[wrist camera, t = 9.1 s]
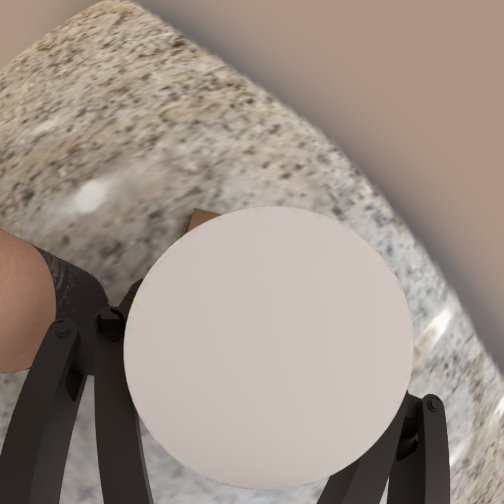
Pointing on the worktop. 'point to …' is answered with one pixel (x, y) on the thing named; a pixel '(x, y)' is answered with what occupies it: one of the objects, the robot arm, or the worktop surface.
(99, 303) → the travel mug
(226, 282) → the cup
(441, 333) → the worktop surface
